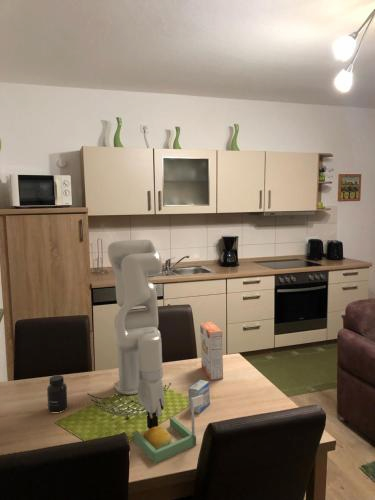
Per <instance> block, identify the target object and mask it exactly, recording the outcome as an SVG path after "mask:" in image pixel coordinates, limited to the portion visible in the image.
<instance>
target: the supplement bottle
mask: <svg viewBox="0 0 375 500" xmlns="http://www.w3.org/2000/svg"><path fill="white" fill-rule="evenodd" d="M46 397H47V411H48V410H49V411H50V412H60V411H63V410H65V409H66V408H68V405H69V404H68V386H67V384H66V383H65V382H64V375H61V374H58V375H57V374H56V375H53V376H51V377H50V378H49V385H48V386H47V388H46ZM66 410H67V409H66ZM66 410H65V411H66ZM49 411H48V412H49ZM50 412H49V413H50ZM63 412H64V411H63Z"/></svg>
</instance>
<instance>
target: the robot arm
mask: <svg viewBox="0 0 375 500" xmlns="http://www.w3.org/2000/svg"><path fill="white" fill-rule="evenodd" d="M107 257H108V261H109V262H110V265H111V267H112V269H113V273H114V280H115V281H114V283H115V296H116V303H117V306H118V307H119V310H118V312H117V314H116V315H115V316H114V318H113V326H114V329H115V336H116V344H117V360H118V363H117V364H118V366H117V367H118V382H117V383H116V384H115V391H116V392H117V393H118V394H122V395H136V394H137V402H138V403H139V405H140V406H141V407H142V408H143V409H144V410H145V414H146V427H147V428H148V430H149V429H150V428H152V427H156V426H159V417H162V416H163V414H162V411H163V410H164V409H165V390H164V383H163V376H164V375H163V355H162V354H163V351H162V350H163V348H162V345H163V344H162V337H161V336H162V334H161V331H160V330H159V329H158V328H159V312H158V311H159V309H158V295H157V290H156V286H155V285H154V283H153V282H150V281H149V279H148V277H153V276H159V275H161V274H162V272H163V261H162V257H161V255H160V253H159V250H158V248H157V246H156V245H155V244H154V242H153V241H152V240H150V239H133V240H132V239H131V240H129V239H128V240H119V241H114V242H111V243H110V244H109V245H108V246H107ZM139 307H145V308H140V309H133V308H139Z"/></svg>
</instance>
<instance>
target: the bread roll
mask: <svg viewBox="0 0 375 500" xmlns="http://www.w3.org/2000/svg"><path fill="white" fill-rule="evenodd" d="M143 437H144V438H145V439H146V440H147V441H148V442H149V443H150V444H151V445H152V446H153V447H154V448H155V449H156V450H157V449H160V448H162V447H164V446H167V445H169V444H171V443H172V435H171V434H170V433H169V432H168V430H167V429H166V428H164V427H163V426H160V425H158V426H156V427H152V428H150V429H149V428H148V430H146V431H145V432H144V435H143Z"/></svg>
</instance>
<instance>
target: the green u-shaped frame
mask: <svg viewBox="0 0 375 500" xmlns="http://www.w3.org/2000/svg"><path fill="white" fill-rule="evenodd" d="M201 404H203V395H200V396H198V397H195V398H193V397H192V398H191V411H190V413H191V430H190V429H188V428H187V427H186V426H185V425H184V424H183V423H181V422H180V421H179V420H178V419H176V418H175V417H174V416H172V417H169V427H170V428H172V430H174V432H176V433H177V434H178V435H179V436H180V437H182V438H181V439H179V440H176V441H174V442H171V443H170V444H169V445H167V446H164V447H162V448H160V449H157V450H156V449H155V448H154V447H153V446H152V445H151V444H150V443H149V442H148V441H147V440H146V439H145V438H144V435H142V434H141V432H139V431H138V430H135V431H133V440H134V441H133V442H135V444H136V445H137V446H138V447H139V448H140V449H141V450H142V451H143V453H145V454H146V456H147V457H148V458H149V459H150V460H151V462H153V463H154V464H157V463H160V462H162V461H164V460H167V459H168V458H170V457H173V456H175V455H177V454H179V453H182V452H185V451H186V450H188V449H191V448H193V447H194V446H197V436H196V434H195V412H194V407H196V406H199V405H201Z"/></svg>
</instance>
